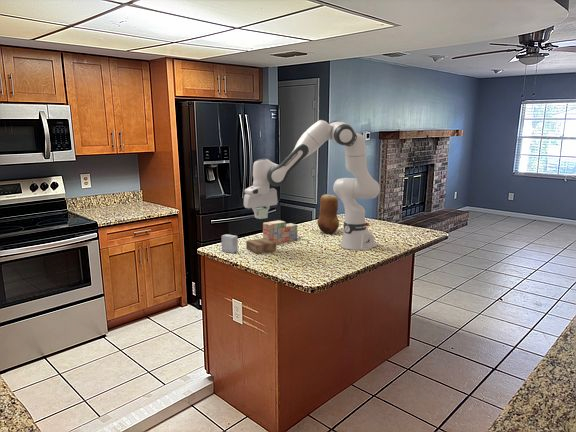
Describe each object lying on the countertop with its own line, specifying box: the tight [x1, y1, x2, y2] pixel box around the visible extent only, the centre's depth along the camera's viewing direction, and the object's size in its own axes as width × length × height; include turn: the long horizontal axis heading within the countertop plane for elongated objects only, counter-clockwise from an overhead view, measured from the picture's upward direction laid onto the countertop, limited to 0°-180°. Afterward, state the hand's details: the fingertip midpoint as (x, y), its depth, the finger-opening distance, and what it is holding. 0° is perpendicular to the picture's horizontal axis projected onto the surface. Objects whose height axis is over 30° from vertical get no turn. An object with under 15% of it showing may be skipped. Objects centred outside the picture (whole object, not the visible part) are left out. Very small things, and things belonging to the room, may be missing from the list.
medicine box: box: [220, 234, 239, 254], centre depth 227 cm, size 8×4×9 cm, turn 59°
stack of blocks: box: [262, 219, 298, 245], centre depth 248 cm, size 21×6×12 cm, turn 129°
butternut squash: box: [317, 193, 340, 235], centre depth 270 cm, size 14×13×25 cm
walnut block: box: [245, 237, 277, 255], centre depth 230 cm, size 12×12×5 cm
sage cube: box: [254, 207, 269, 220], centre depth 227 cm, size 5×5×5 cm
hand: (261, 214), depth 227 cm, fingers closed on sage cube, 5 cm apart
